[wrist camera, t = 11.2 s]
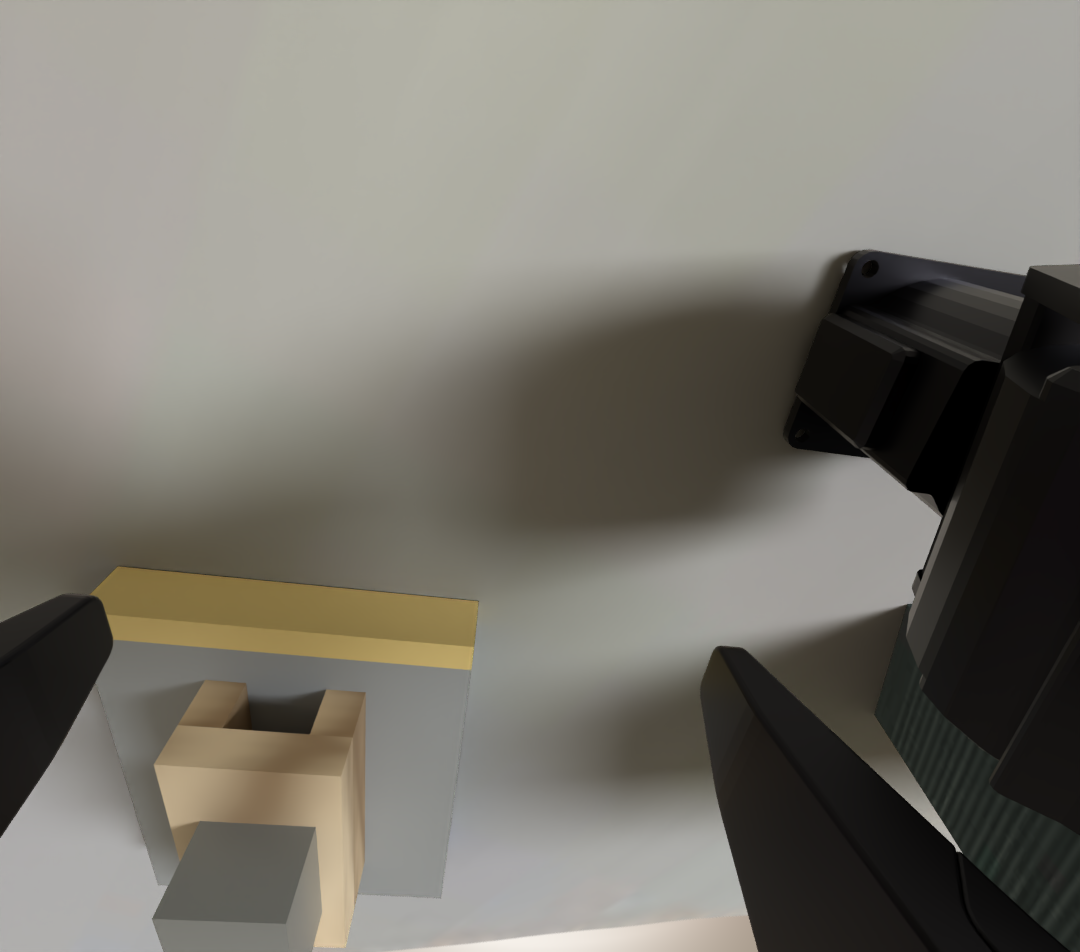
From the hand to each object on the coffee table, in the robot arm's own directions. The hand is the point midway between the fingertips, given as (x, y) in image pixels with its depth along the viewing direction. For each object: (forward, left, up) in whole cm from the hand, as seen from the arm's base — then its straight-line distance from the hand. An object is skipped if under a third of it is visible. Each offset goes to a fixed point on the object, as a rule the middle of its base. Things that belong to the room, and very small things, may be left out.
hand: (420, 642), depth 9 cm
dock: (+6, +19, -12) cm, 23 cm away
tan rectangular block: (+6, +19, -9) cm, 22 cm away
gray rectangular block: (+6, +19, -6) cm, 20 cm away
